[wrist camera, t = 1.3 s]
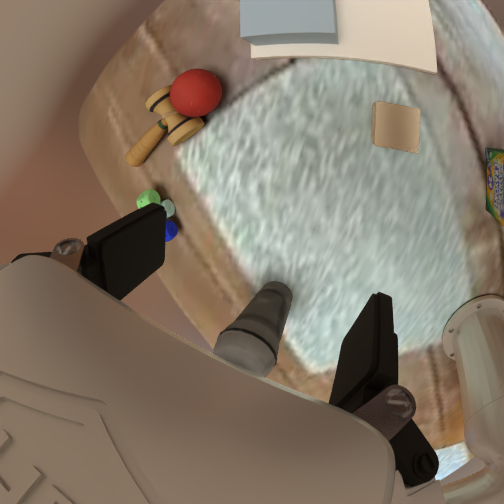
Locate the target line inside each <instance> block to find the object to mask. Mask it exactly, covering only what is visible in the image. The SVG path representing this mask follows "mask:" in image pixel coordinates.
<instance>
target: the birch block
mask: <svg viewBox="0 0 504 504" xmlns="http://www.w3.org/2000/svg"><path fill="white" fill-rule="evenodd" d="M420 112H421V109H417V108H412V107H407V106H402V105H397V104H391V103H385V102H379V101H376V102H375V103H374V105H373V115H372V138H371V142H372V143H373V144H374V146H380V147H386V148H391V149H397V150H402V151H407V152H412V153H417V154H418V146H419V133H420Z"/></svg>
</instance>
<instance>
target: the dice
mask: <svg viewBox="0 0 504 504" xmlns="http://www.w3.org/2000/svg"><path fill="white" fill-rule="evenodd" d="M152 202H154V203H157V204H159V205H162V206H164V208H165V210H166V212H167V218H168V217H170V216H172V215H173V214H174V212H175V207H174V204H173V203H172V202H171V201H170V200H168V199H167V200H164V201H162V202H160V196H159V194H158V193H157V192H156V191H155V190H152V189H148V190H146V191H145V192H143V193H142V194H141V195H140V196H139V197H138V198H137V206H138V208H139V209H140V208H142V207H144V206H146V205H148V204H150V203H152ZM177 232H178V229H177V226H176V224H175V223H174V222H172V221H169V220H166V237H165V242H168V241H170V240H172V239H173V238H174V237H175V236H176V235H177Z"/></svg>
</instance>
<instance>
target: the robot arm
mask: <svg viewBox="0 0 504 504" xmlns="http://www.w3.org/2000/svg"><path fill="white" fill-rule="evenodd" d="M166 220H167V212H166V210H165V208H164V206H162V205H159V204H157V203H154V202H152V203H150V204H148V205H146V206H144V207H142V208H140V209H138V210H136V211H134V212H132V213H130V214H128V215H126V216H124V217H123V218H121V219H119V220H117V221H115V222H113V223H111V224H110V225H108V226H106V227H104V228H103V229H101V230H99V231H97V232H96V233H94V234H92V235H90V236H88V237H87V243H88V244H87V245H85V246H84V242H83V241H81V239H78V238H67V239H64V240H62V241H60V242H58V243H57V244H56V245H55V247H54V249H53V251H52V252H42V253H27V254H20V255H18V256H17V257H16V258H15V259H14V260H13V261H12V262H11V264H9V263H7V264H4V265H1V266H0V504H504V299H503V298H502V297H500V296H496V295H485V296H481V297H478V298H476V299H473V300H471V301H470V302H468V303H466V304H465V305H463V306H462V307H461V308H460V309H458V311H457V312H456V313H455V314H454V315H453V316H452V317H451V318H450V320H449V321H448V323H447V325H446V327H445V329H444V332H443V336H442V344H443V349H444V352H445V353H446V355H447V356H448V357H449V358H451V359H452V360H455V361H456V366H457V372H458V378H459V385H460V392H461V401H462V411H463V424H464V439H465V444H466V446H467V449H468V450H469V451H470V453H472V454H473V455H474V456H475V457H477V458H479V459H480V460H482V461H483V462H484V463H485V467H484V468H483V469H482V470H481V471H479V472H477V473H475V474H472V475H471V476H468V477H466V478H463V479H460V480H457V481H455V482H452V483H449V484H446V485H443V486H441V484H440V481H439V480H435V475H436V474H437V471H438V468H439V461H438V457H437V455H436V453H435V451H434V450H433V448H432V447H431V445H430V444H429V442H428V441H427V440H426V438H425V437H424V435H423V434H422V432H421V431H420V429H419V428H418V427H417V425H416V424H415V422H414V421H413V420H412V417H413V416H414V414H415V412H416V402H415V399H414V397H413V395H412V393H411V392H410V391H409V390H408V389H407V388H405V387H403V386H400V385H398V337H397V334H396V333H394V324H393V307H392V297H390V296H388V295H386V294H383V293H381V292H378V293H377V294H374V293H373V294H372V295H371V297H370V298H369V300H368V302H367V303H366V305H365V307H364V308H363V310H362V311H361V313H360V315H359V316H358V318H357V319H356V321H355V322H354V324H353V326H352V327H351V329H350V330H349V332H348V333H347V335H346V336H345V338H344V340H343V342H342V345H341V350H340V355H339V360H338V365H337V370H336V375H335V379H334V384H333V388H332V392H331V396H330V400H329V403H326V402H324V401H321V400H319V399H316V398H314V397H311V396H308V395H306V394H303V393H301V392H298V391H296V390H293V389H291V388H288V387H286V386H283V385H281V384H279V383H276V382H274V381H272V380H269V379H267V378H264V377H262V376H260V375H258V374H255V373H253V372H251V371H249V370H246V369H244V368H242V367H240V366H238V365H235V364H233V363H231V362H229V361H227V360H225V359H223V358H221V357H219V356H217V355H215V354H213V353H211V352H209V351H207V350H205V349H203V348H201V347H199V346H197V345H195V344H193V343H191V342H189V341H188V340H186V339H184V338H182V337H180V336H178V335H177V334H175V333H173V332H171V331H169V330H167V329H166V328H164V327H162V326H161V325H159V324H157V323H155V322H154V321H152V320H150V319H148V318H147V317H145V316H143V315H142V314H140V313H139V312H137V311H135V310H134V309H132V308H130V307H129V306H127V305H125V304H124V303H122V302H121V301H120V300H121V299H123V298H124V297H125V296H126V295H127V294H128V293H130V292H131V291H132V290H133V289H134V288H136V287H137V286H138V285H139V284H140V283H142V282H143V281H144V280H145V279H146V278H148V277H149V276H150V275H151V274H152V273H154V272H155V271H156V270H157V269H159V268H160V267H161V266H162V265H163V263H164V260H165V237H166Z"/></svg>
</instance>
